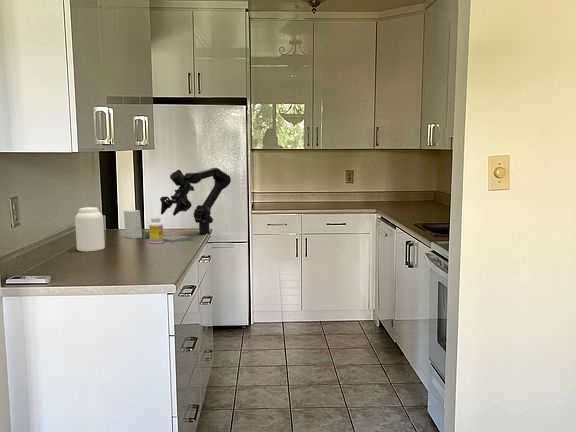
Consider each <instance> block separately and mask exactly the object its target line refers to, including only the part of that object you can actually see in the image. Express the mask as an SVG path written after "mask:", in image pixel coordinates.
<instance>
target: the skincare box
mask: <svg viewBox="0 0 576 432" xmlns="http://www.w3.org/2000/svg"><path fill="white" fill-rule="evenodd" d="M123 219H124V231H125V238H128V239H132V240H133V239H141V238H143V231H142V222H141V221H142V220H141V211H140V210H139V209H129V210H123Z"/></svg>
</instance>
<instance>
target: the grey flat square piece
mask: <svg viewBox="0 0 576 432" xmlns="http://www.w3.org/2000/svg"><path fill="white" fill-rule="evenodd" d="M190 239H191V236H186V235H177V234H172V235H165V236H163V242H166V243H167V242H169V243H175V242H176V243H177V242H181V241H185V240H187V241H188V240H190Z"/></svg>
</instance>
